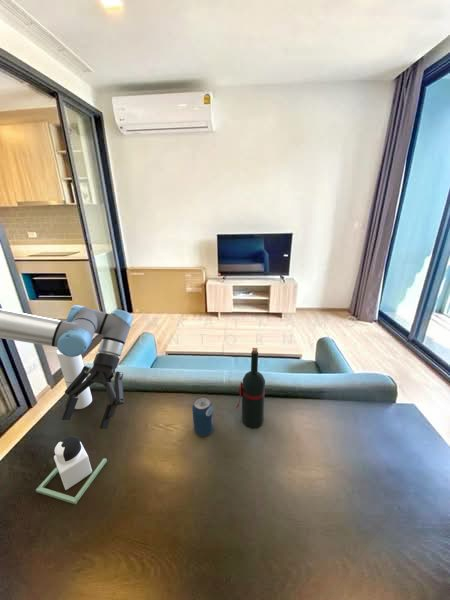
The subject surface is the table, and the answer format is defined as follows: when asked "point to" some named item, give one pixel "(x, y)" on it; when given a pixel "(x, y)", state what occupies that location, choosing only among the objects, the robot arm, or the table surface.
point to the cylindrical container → (74, 377)
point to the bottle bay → (63, 496)
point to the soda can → (202, 416)
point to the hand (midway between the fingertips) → (84, 424)
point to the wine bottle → (252, 395)
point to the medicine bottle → (71, 461)
